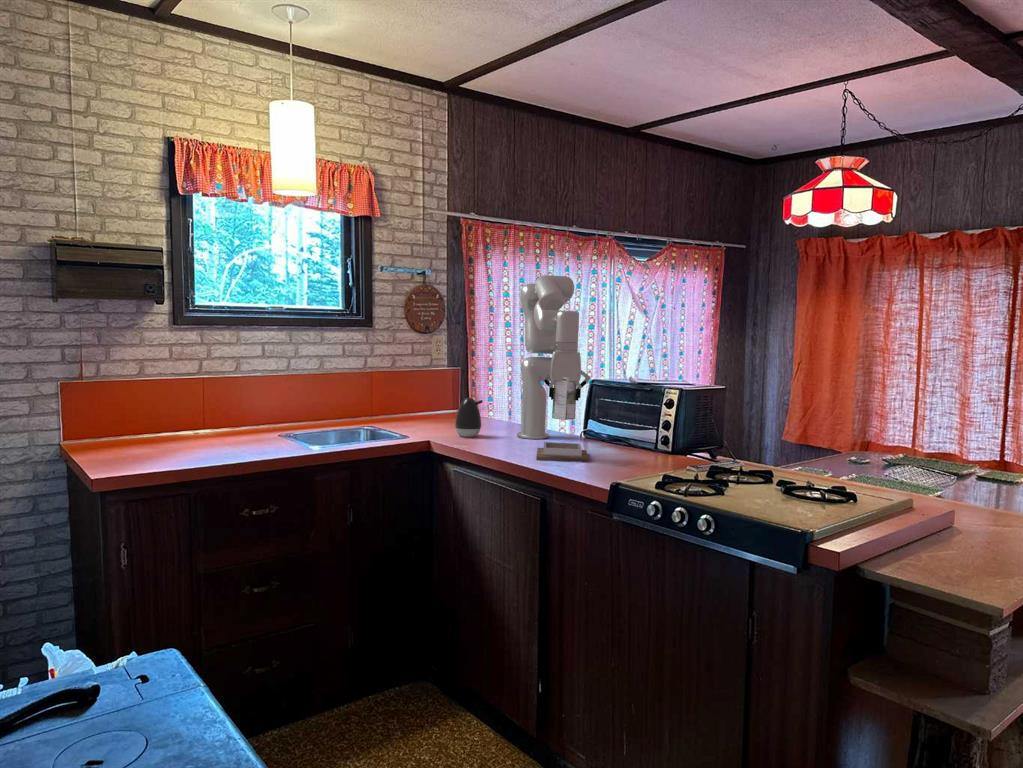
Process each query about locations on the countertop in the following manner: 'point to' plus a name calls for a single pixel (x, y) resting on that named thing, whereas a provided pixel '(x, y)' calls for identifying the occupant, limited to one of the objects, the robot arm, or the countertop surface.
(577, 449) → the tray
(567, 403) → the syrup box
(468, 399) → the pump dispenser
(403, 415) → the countertop surface
